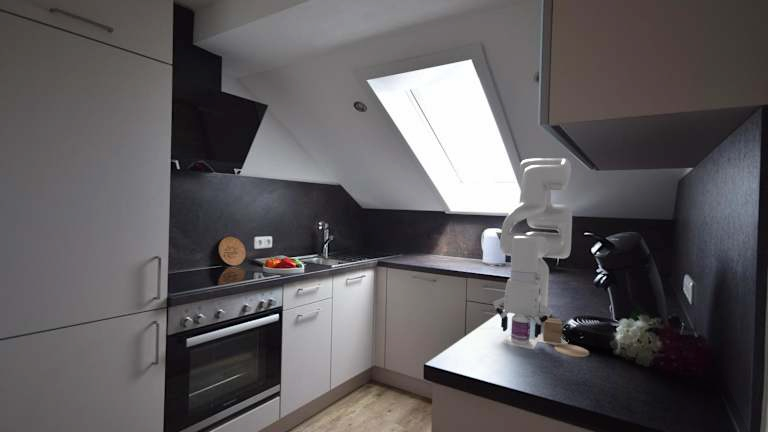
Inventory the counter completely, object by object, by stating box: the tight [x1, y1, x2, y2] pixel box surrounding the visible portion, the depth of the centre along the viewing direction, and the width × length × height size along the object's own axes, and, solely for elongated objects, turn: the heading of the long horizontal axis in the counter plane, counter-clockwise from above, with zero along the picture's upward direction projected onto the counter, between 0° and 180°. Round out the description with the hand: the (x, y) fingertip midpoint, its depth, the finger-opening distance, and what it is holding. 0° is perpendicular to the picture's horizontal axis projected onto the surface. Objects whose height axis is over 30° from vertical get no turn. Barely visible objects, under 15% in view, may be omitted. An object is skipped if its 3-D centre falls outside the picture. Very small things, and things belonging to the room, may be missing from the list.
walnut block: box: [542, 317, 563, 343], centre depth 120 cm, size 5×5×6 cm
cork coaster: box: [553, 343, 590, 358], centre depth 112 cm, size 9×9×1 cm
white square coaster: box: [501, 334, 539, 350], centre depth 118 cm, size 9×9×1 cm
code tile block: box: [534, 332, 569, 346], centre depth 121 cm, size 9×9×1 cm
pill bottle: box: [510, 314, 531, 344], centre depth 117 cm, size 5×5×10 cm
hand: (520, 333), depth 118 cm, fingers open, 8 cm apart
